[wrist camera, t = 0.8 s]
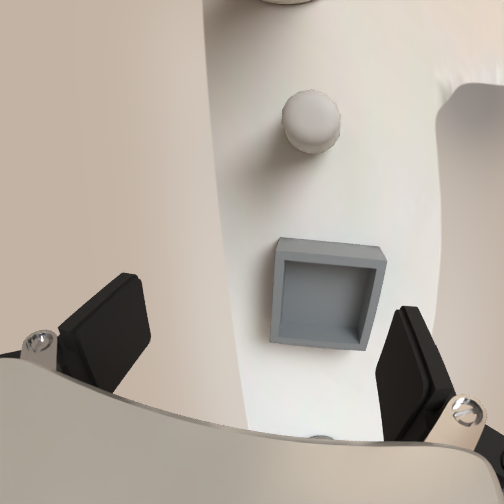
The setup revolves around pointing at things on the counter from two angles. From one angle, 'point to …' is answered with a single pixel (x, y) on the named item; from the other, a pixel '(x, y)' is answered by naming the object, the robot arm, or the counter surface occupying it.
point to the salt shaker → (311, 121)
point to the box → (325, 293)
